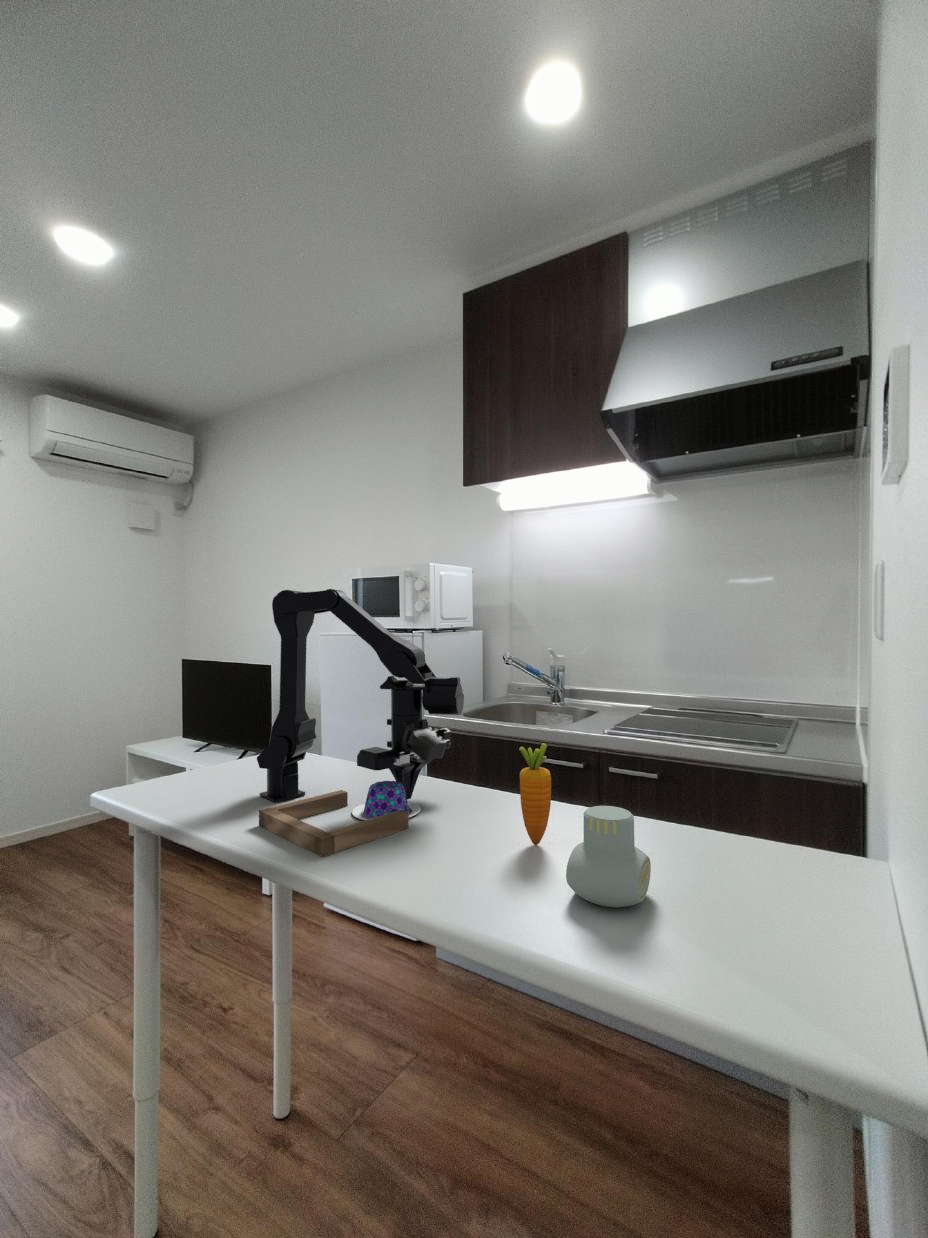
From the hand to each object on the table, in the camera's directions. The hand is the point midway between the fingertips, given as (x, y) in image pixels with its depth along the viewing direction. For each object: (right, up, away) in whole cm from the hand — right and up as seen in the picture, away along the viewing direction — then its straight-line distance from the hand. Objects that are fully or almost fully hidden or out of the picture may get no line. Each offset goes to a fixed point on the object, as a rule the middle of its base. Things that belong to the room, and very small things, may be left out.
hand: (407, 799), depth 104 cm
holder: (-10, -1, -11) cm, 15 cm away
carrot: (+21, -1, -20) cm, 29 cm away
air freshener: (+28, 0, -36) cm, 46 cm away
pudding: (-3, -2, -4) cm, 5 cm away
